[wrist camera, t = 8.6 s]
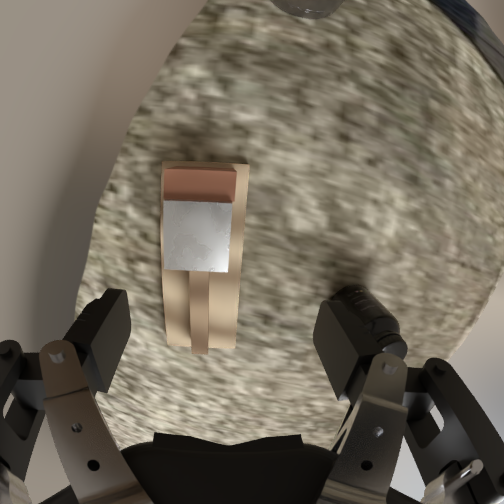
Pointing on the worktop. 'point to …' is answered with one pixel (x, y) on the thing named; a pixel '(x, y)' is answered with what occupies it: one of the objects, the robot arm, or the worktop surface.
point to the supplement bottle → (374, 318)
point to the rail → (218, 279)
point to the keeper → (196, 234)
